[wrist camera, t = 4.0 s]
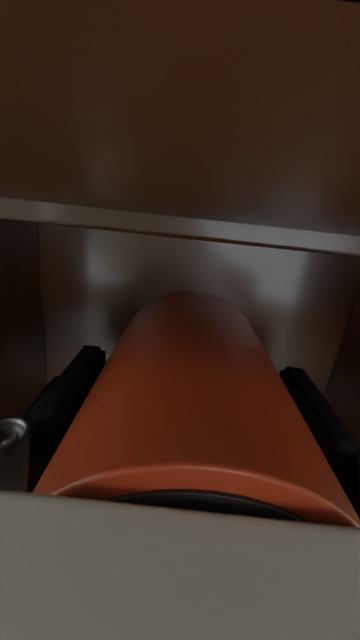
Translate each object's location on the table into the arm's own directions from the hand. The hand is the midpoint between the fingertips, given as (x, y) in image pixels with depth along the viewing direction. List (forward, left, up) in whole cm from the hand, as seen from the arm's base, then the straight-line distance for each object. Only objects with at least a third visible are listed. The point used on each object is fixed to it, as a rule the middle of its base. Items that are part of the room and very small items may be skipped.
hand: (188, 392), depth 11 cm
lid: (-3, +6, +11) cm, 13 cm away
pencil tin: (0, 0, -2) cm, 2 cm away
